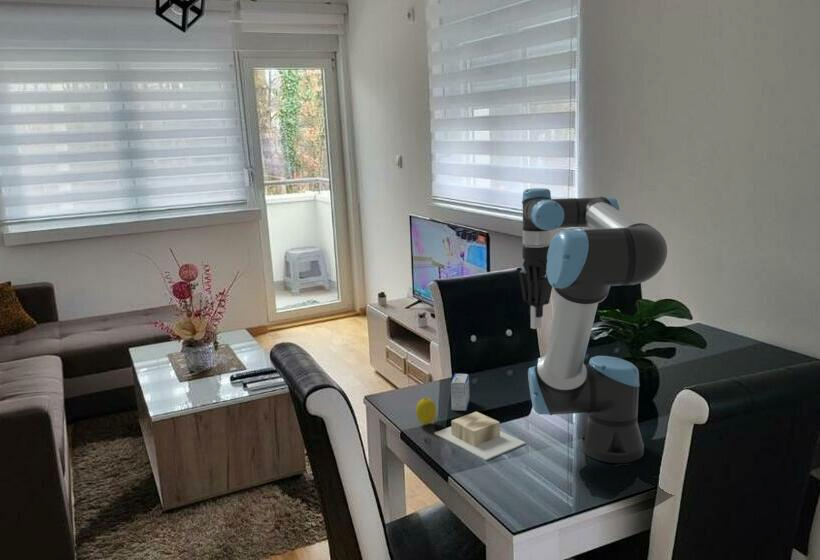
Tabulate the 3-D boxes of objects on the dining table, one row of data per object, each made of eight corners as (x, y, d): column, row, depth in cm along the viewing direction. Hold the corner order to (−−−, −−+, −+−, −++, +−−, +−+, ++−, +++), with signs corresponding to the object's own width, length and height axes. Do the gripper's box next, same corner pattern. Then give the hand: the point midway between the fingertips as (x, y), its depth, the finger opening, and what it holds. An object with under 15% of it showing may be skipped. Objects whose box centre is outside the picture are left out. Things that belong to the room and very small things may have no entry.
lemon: (413, 422, 185) (412, 395, 184) (431, 419, 187) (431, 392, 186) (420, 430, 180) (419, 402, 179) (439, 426, 182) (438, 399, 181)
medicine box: (466, 411, 192) (465, 383, 190) (451, 410, 193) (450, 382, 191) (469, 400, 200) (469, 373, 198) (454, 400, 200) (454, 373, 199)
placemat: (525, 444, 170) (525, 442, 170) (485, 460, 162) (485, 459, 162) (473, 419, 186) (473, 418, 186) (434, 433, 178) (434, 432, 178)
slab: (474, 431, 168) (451, 420, 175) (474, 446, 169) (451, 434, 176) (499, 421, 174) (476, 411, 181) (499, 436, 174) (476, 425, 181)
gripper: (563, 245, 179) (562, 329, 184) (528, 241, 190) (527, 320, 194) (545, 249, 175) (544, 335, 180) (509, 244, 185) (509, 325, 190)
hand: (535, 327), depth 187 cm, fingers closed
